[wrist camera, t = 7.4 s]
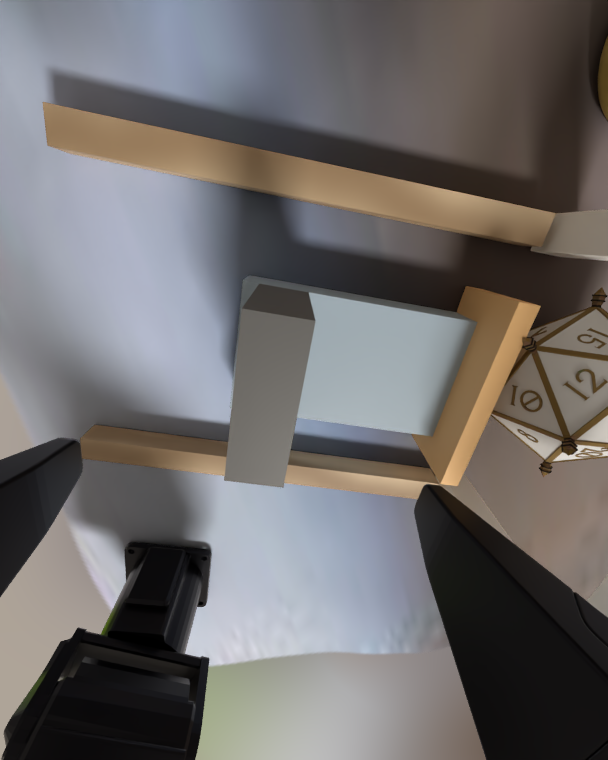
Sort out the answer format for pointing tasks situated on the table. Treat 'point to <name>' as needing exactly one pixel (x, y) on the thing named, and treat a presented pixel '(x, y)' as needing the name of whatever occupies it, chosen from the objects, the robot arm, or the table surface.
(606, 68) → the bark log
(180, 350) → the table surface
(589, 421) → the game die
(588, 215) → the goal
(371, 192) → the rails
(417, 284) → the table surface
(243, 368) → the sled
